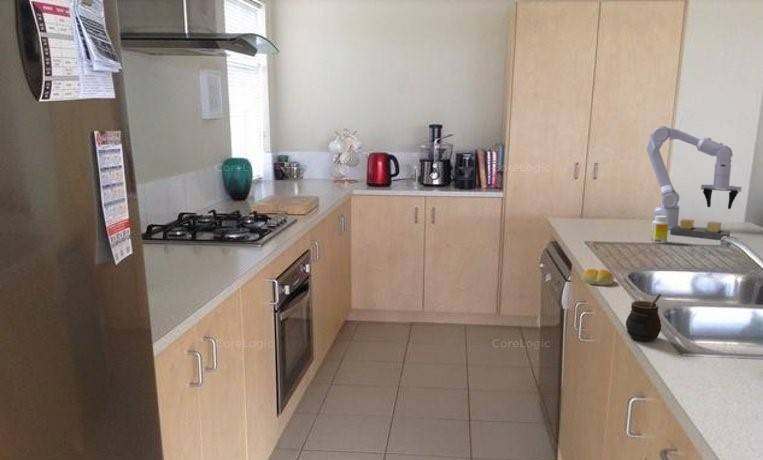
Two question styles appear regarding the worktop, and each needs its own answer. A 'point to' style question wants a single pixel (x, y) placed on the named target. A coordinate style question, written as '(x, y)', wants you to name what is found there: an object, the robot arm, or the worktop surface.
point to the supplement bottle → (659, 230)
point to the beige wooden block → (687, 224)
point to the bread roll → (598, 277)
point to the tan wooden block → (714, 227)
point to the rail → (699, 233)
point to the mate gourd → (644, 320)
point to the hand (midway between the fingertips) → (719, 207)
